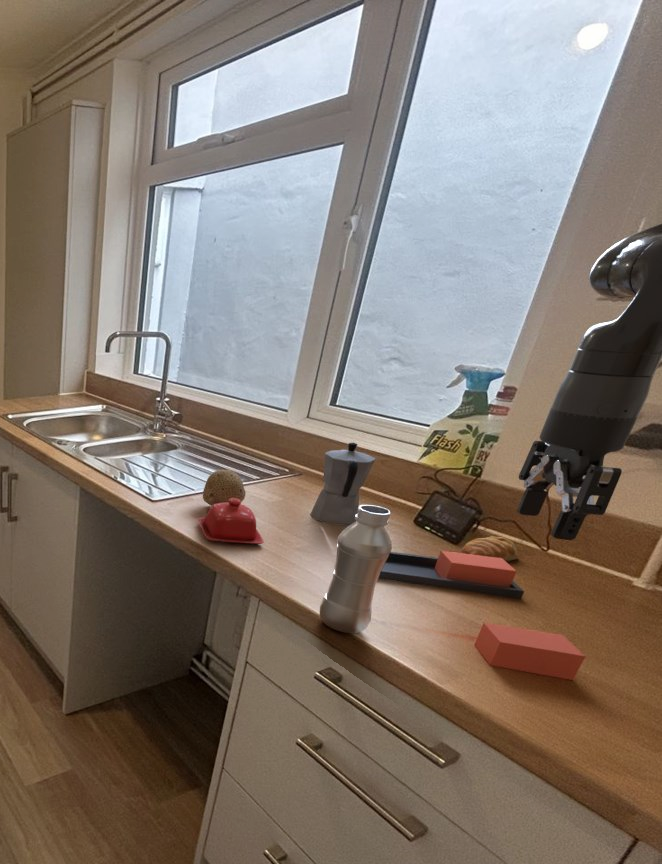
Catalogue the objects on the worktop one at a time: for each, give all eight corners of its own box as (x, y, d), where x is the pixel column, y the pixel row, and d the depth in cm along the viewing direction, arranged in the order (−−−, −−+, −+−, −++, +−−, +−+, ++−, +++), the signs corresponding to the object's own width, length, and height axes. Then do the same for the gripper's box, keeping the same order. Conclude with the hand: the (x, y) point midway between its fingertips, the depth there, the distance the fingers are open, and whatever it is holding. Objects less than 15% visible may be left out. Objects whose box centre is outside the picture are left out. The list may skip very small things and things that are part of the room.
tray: (492, 575, 97) (496, 565, 96) (519, 602, 89) (524, 591, 88) (356, 556, 104) (358, 547, 103) (369, 580, 96) (372, 569, 95)
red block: (494, 577, 95) (502, 558, 93) (508, 591, 91) (517, 571, 89) (433, 569, 98) (440, 550, 96) (444, 582, 94) (452, 562, 92)
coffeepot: (308, 505, 129) (326, 433, 122) (354, 511, 125) (374, 438, 118) (311, 528, 116) (331, 450, 109) (362, 536, 112) (386, 456, 105)
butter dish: (265, 549, 107) (273, 510, 104) (205, 545, 109) (212, 507, 106) (249, 526, 118) (256, 490, 115) (195, 522, 120) (201, 487, 117)
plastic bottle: (371, 642, 79) (411, 521, 71) (320, 633, 81) (353, 514, 73) (360, 619, 84) (395, 504, 77) (312, 611, 87) (342, 498, 79)
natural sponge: (249, 510, 126) (256, 471, 122) (229, 520, 121) (236, 479, 117) (214, 499, 133) (220, 462, 129) (193, 508, 128) (199, 469, 124)
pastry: (486, 569, 99) (493, 551, 97) (447, 554, 105) (453, 536, 103) (519, 561, 102) (526, 543, 100) (479, 546, 108) (485, 530, 106)
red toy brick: (551, 658, 75) (563, 634, 74) (573, 680, 71) (585, 656, 69) (473, 644, 78) (483, 622, 77) (489, 665, 74) (500, 641, 72)
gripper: (678, 424, 59) (614, 552, 65) (596, 400, 71) (548, 510, 77) (590, 419, 61) (536, 543, 68) (526, 397, 74) (485, 504, 80)
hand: (543, 525), depth 72 cm, fingers open, 8 cm apart
